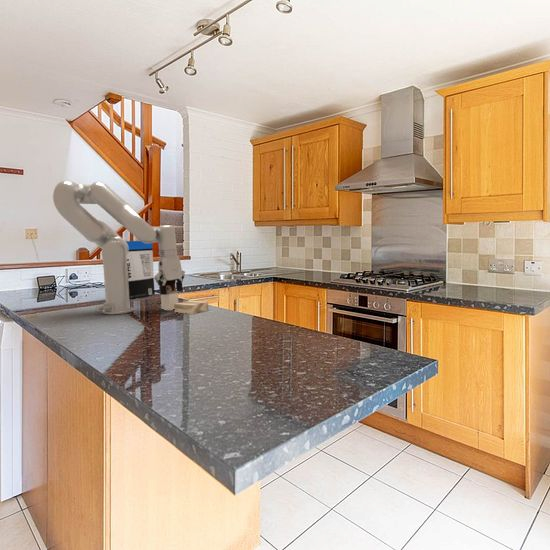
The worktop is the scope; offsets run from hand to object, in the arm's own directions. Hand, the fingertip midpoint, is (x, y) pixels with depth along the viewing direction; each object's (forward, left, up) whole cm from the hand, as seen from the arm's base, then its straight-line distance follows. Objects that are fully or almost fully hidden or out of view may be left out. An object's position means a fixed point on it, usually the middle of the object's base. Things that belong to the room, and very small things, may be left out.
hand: (171, 292), depth 182 cm
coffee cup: (+13, +16, -7) cm, 22 cm away
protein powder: (+18, +44, -8) cm, 48 cm away
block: (-1, -12, -8) cm, 14 cm away
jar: (-1, +1, -7) cm, 7 cm away
